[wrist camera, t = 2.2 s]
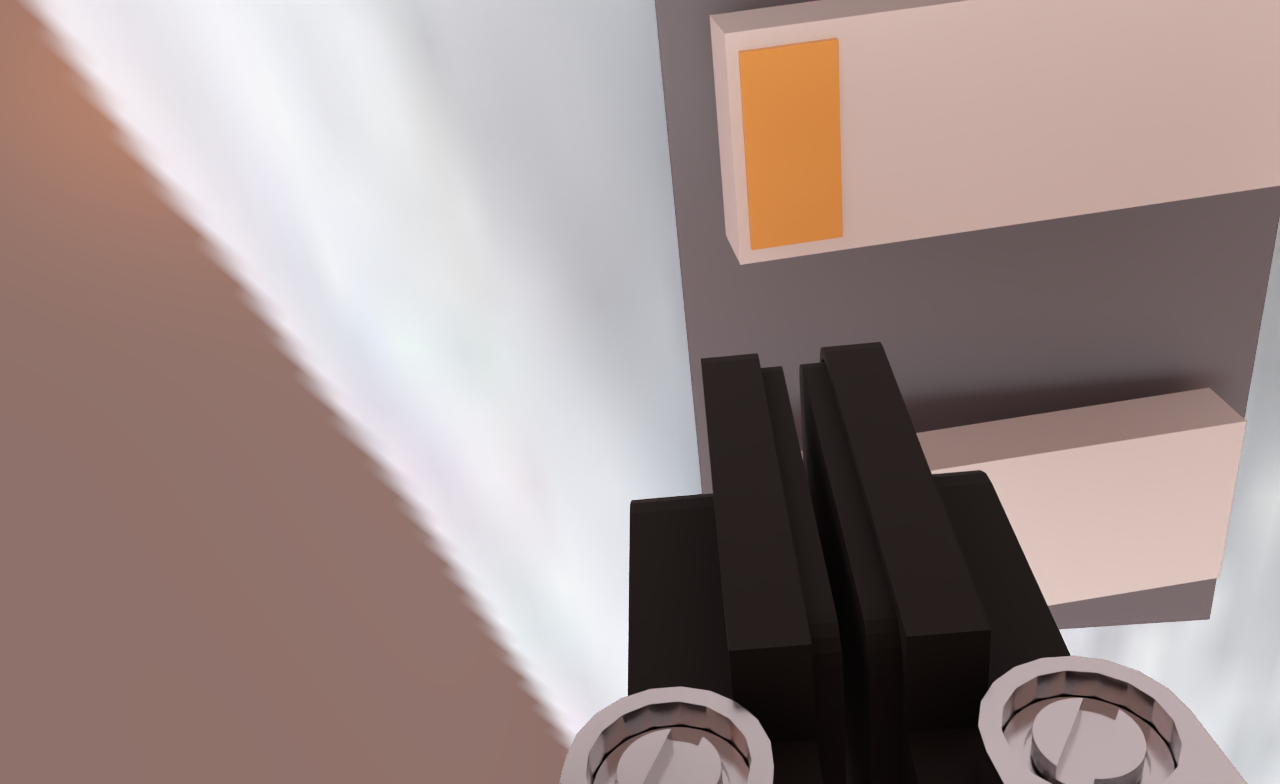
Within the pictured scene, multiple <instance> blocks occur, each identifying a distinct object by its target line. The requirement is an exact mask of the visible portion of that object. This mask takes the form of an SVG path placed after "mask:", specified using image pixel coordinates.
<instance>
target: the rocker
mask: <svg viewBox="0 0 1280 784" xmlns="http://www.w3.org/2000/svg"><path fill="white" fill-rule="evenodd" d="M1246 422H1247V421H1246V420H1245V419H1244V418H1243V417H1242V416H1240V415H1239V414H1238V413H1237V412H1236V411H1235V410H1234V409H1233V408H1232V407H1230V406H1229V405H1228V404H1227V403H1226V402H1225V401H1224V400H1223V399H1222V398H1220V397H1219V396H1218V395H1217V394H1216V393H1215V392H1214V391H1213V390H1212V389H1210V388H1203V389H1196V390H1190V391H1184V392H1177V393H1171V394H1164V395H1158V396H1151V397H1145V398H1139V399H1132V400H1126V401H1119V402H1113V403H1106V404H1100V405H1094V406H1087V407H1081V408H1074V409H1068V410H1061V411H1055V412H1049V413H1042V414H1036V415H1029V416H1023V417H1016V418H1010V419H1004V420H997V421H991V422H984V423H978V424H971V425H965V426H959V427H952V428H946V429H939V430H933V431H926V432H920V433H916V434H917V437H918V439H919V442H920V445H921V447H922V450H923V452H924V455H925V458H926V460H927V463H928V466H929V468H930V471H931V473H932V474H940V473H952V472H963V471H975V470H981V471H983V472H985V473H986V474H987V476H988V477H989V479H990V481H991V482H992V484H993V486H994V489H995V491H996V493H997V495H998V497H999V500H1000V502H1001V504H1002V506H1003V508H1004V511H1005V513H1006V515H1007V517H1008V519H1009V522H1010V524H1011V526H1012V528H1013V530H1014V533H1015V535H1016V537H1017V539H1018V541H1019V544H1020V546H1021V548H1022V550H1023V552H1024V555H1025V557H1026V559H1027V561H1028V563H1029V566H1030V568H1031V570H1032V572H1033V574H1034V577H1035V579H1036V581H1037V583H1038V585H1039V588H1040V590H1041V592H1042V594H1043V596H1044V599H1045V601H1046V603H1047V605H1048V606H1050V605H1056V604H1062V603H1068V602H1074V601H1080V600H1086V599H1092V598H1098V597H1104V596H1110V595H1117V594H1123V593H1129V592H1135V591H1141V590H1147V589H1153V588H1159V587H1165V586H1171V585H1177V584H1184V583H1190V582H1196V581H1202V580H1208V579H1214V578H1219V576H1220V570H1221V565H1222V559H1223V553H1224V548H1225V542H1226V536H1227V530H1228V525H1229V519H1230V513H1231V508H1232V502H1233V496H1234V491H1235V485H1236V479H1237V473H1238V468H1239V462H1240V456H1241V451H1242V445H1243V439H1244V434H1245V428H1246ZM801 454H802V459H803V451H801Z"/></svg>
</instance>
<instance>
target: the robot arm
mask: <svg viewBox="0 0 1280 784" xmlns="http://www.w3.org/2000/svg"><path fill="white" fill-rule="evenodd" d="M701 368H702V379H703V390H704V401H705V412H706V423H707V434H708V445H709V456H710V467H711V478H712V489H713V493H711V494H699V495H688V496H676V497H665V498H653V499H642V500H632V501H631V504H630V557H629V649H628V696H627V697H624V698H621V699H619V700H618V701H616V702H614V703H613V704H611V705H609V706H608V707H606V708H604V709H603V710H601V711H600V712H598V713H596V714H595V715H594V716H593V717H592V718H591V719H590V721H589V722H588V723H587V724H586V725H585V726H584V727H583V728H582V729H581V730H580V731H579V732H578V733H577V735H576V737H575V739H574V741H573V743H572V745H571V748H570V750H569V752H568V754H567V756H566V759H565V763H564V766H563V770H562V774H561V778H560V782H559V784H1247V782H1246V781H1245V780H1244V779H1243V777H1242V776H1241V775H1240V773H1239V772H1238V771H1237V769H1236V768H1235V767H1234V766H1233V764H1232V763H1231V762H1230V760H1229V759H1228V758H1227V757H1226V755H1225V754H1224V753H1223V751H1222V750H1221V749H1220V747H1219V746H1218V745H1217V744H1216V742H1215V741H1214V740H1213V738H1212V737H1211V736H1210V734H1209V733H1208V732H1207V731H1206V729H1205V728H1204V727H1203V725H1202V724H1201V723H1200V722H1199V720H1198V719H1197V718H1196V716H1195V715H1194V714H1193V712H1192V711H1191V710H1190V709H1189V708H1188V707H1187V706H1186V705H1185V704H1184V703H1183V702H1182V701H1181V700H1180V699H1179V698H1178V697H1177V696H1176V695H1175V694H1174V693H1173V692H1172V691H1170V690H1169V689H1168V688H1167V687H1165V686H1163V685H1162V684H1160V683H1158V682H1157V681H1155V680H1153V679H1152V678H1150V677H1148V676H1146V675H1145V674H1143V673H1141V672H1140V671H1137V670H1134V669H1131V668H1128V667H1125V666H1122V665H1120V664H1117V663H1114V662H1111V661H1108V660H1102V659H1094V658H1087V657H1080V656H1070V653H1069V651H1068V649H1067V647H1066V645H1065V642H1064V640H1063V638H1062V636H1061V634H1060V631H1059V629H1058V627H1057V625H1056V623H1055V620H1054V618H1053V616H1052V614H1051V612H1050V609H1049V607H1048V605H1047V603H1046V601H1045V599H1044V596H1043V594H1042V592H1041V590H1040V588H1039V585H1038V583H1037V581H1036V579H1035V577H1034V574H1033V572H1032V570H1031V568H1030V566H1029V563H1028V561H1027V559H1026V557H1025V555H1024V552H1023V550H1022V548H1021V546H1020V544H1019V541H1018V539H1017V537H1016V535H1015V533H1014V530H1013V528H1012V526H1011V524H1010V522H1009V519H1008V517H1007V515H1006V513H1005V511H1004V508H1003V506H1002V504H1001V502H1000V500H999V497H998V495H997V493H996V491H995V489H994V486H993V484H992V482H991V481H990V479H989V477H988V476H987V474H986V473H985V472H983V471H981V470H975V471H963V472H952V473H940V474H932V473H931V471H930V468H929V466H928V463H927V460H926V458H925V455H924V452H923V450H922V447H921V445H920V442H919V439H918V437H917V434H916V431H915V429H914V426H913V424H912V421H911V418H910V416H909V413H908V411H907V408H906V405H905V403H904V400H903V397H902V395H901V392H900V390H899V387H898V384H897V382H896V379H895V377H894V374H893V371H892V369H891V366H890V363H889V361H888V358H887V356H886V353H885V350H884V348H883V346H882V344H881V342H872V343H861V344H850V345H839V346H829V347H821V350H820V363H809V364H800V367H799V382H800V405H801V428H802V451H803V459H802V454H801V450H800V445H799V440H798V436H797V431H796V427H795V422H794V417H793V413H792V408H791V404H790V399H789V394H788V390H787V385H786V381H785V376H784V372H783V368H782V366H777V367H766V368H761V366H760V361H759V356H758V353H753V354H743V355H732V356H721V357H710V358H701Z"/></svg>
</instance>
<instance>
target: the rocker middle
mask: <svg viewBox="0 0 1280 784" xmlns="http://www.w3.org/2000/svg"><path fill="white" fill-rule="evenodd" d="M710 28H711V42H712V55H713V68H714V82H715V95H716V109H717V122H718V136H719V149H720V163H721V176H722V190H723V203H724V216H725V230H726V236H727V239H728V241H729V243H730V245H731V247H732V249H733V251H734V253H735V255H736V257H737V259H738V261H739V263H740V265H743V264H750V263H756V262H763V261H770V260H777V259H784V258H790V257H797V256H804V255H811V254H818V253H824V252H831V251H838V250H845V249H852V248H859V247H865V246H872V245H879V244H886V243H893V242H899V241H906V240H913V239H920V238H927V237H933V236H940V235H947V234H954V233H961V232H967V231H974V230H981V229H988V228H995V227H1001V226H1008V225H1015V224H1022V223H1029V222H1036V221H1042V220H1049V219H1056V218H1063V217H1070V216H1076V215H1083V214H1090V213H1097V212H1104V211H1110V210H1117V209H1124V208H1131V207H1138V206H1144V205H1151V204H1158V203H1165V202H1172V201H1178V200H1185V199H1192V198H1199V197H1206V196H1213V195H1219V194H1226V193H1233V192H1240V191H1247V190H1253V189H1260V188H1267V187H1274V186H1280V0H818V1H811V2H803V3H796V4H789V5H781V6H774V7H766V8H759V9H752V10H744V11H737V12H730V13H722V14H715V15H710Z"/></svg>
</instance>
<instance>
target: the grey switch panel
mask: <svg viewBox="0 0 1280 784" xmlns="http://www.w3.org/2000/svg"><path fill="white" fill-rule="evenodd" d="M811 1H818V0H655V7H656V17H657V27H658V38H659V48H660V59H661V69H662V79H663V90H664V100H665V111H666V121H667V131H668V142H669V152H670V163H671V173H672V183H673V194H674V204H675V214H676V225H677V235H678V246H679V256H680V266H681V277H682V287H683V298H684V308H685V318H686V329H687V339H688V350H689V360H690V370H691V381H692V391H693V402H694V412H695V422H696V433H697V443H698V454H699V464H700V474H701V485H702V494H711V493H713V489H712V478H711V467H710V456H709V445H708V434H707V423H706V412H705V401H704V390H703V379H702V368H701V358H710V357H721V356H732V355H743V354H753V353H758V356H759V361H760V366H761V368H766V367H777V366H782V368H783V372H784V376H785V381H786V385H787V390H788V394H789V399H790V404H791V408H792V413H793V417H794V422H795V427H796V431H797V436H798V440H799V445H800V450H801V451H802V428H801V405H800V382H799V367H800V364H809V363H820V350H821V347H829V346H839V345H850V344H861V343H872V342H881V344H882V346H883V348H884V350H885V353H886V356H887V358H888V361H889V363H890V366H891V369H892V371H893V374H894V377H895V379H896V382H897V384H898V387H899V390H900V392H901V395H902V397H903V400H904V403H905V405H906V408H907V411H908V413H909V416H910V418H911V421H912V424H913V426H914V429H915V431H916V433H920V432H926V431H933V430H939V429H946V428H952V427H959V426H965V425H971V424H978V423H984V422H991V421H997V420H1004V419H1010V418H1016V417H1023V416H1029V415H1036V414H1042V413H1049V412H1055V411H1061V410H1068V409H1074V408H1081V407H1087V406H1094V405H1100V404H1106V403H1113V402H1119V401H1126V400H1132V399H1139V398H1145V397H1151V396H1158V395H1164V394H1171V393H1177V392H1184V391H1190V390H1196V389H1203V388H1210V389H1212V390H1213V391H1214V392H1215V393H1216V394H1217V395H1218V396H1219V397H1220V398H1222V399H1223V400H1224V401H1225V402H1226V403H1227V404H1228V405H1229V406H1230V407H1232V408H1233V409H1234V410H1235V411H1236V412H1237V413H1238V414H1239V415H1240V416H1242V417H1243V418H1244V417H1245V412H1246V406H1247V400H1248V394H1249V389H1250V383H1251V377H1252V372H1253V366H1254V360H1255V354H1256V349H1257V343H1258V337H1259V331H1260V326H1261V320H1262V314H1263V308H1264V303H1265V297H1266V291H1267V285H1268V280H1269V274H1270V268H1271V262H1272V257H1273V251H1274V245H1275V239H1276V234H1277V228H1278V222H1279V216H1280V186H1274V187H1267V188H1260V189H1253V190H1247V191H1240V192H1233V193H1226V194H1219V195H1213V196H1206V197H1199V198H1192V199H1185V200H1178V201H1172V202H1165V203H1158V204H1151V205H1144V206H1138V207H1131V208H1124V209H1117V210H1110V211H1104V212H1097V213H1090V214H1083V215H1076V216H1070V217H1063V218H1056V219H1049V220H1042V221H1036V222H1029V223H1022V224H1015V225H1008V226H1001V227H995V228H988V229H981V230H974V231H967V232H961V233H954V234H947V235H940V236H933V237H927V238H920V239H913V240H906V241H899V242H893V243H886V244H879V245H872V246H865V247H859V248H852V249H845V250H838V251H831V252H824V253H818V254H811V255H804V256H797V257H790V258H784V259H777V260H770V261H763V262H756V263H750V264H743V265H740V263H739V261H738V259H737V257H736V255H735V253H734V251H733V249H732V247H731V245H730V243H729V241H728V239H727V236H726V230H725V216H724V203H723V190H722V176H721V163H720V149H719V136H718V122H717V109H716V95H715V82H714V68H713V55H712V42H711V28H710V15H715V14H722V13H730V12H737V11H744V10H752V9H759V8H766V7H774V6H781V5H789V4H796V3H803V2H811ZM1215 584H1216V578H1214V579H1208V580H1202V581H1196V582H1190V583H1184V584H1177V585H1171V586H1165V587H1159V588H1153V589H1147V590H1141V591H1135V592H1129V593H1123V594H1117V595H1110V596H1104V597H1098V598H1092V599H1086V600H1080V601H1074V602H1068V603H1062V604H1056V605H1050V606H1048V607H1049V609H1050V612H1051V614H1052V616H1053V618H1054V620H1055V623H1056V625H1057V627H1058V629H1069V628H1085V627H1100V626H1115V625H1130V624H1145V623H1160V622H1176V621H1191V620H1206V619H1210V613H1211V607H1212V601H1213V596H1214V590H1215Z"/></svg>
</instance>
